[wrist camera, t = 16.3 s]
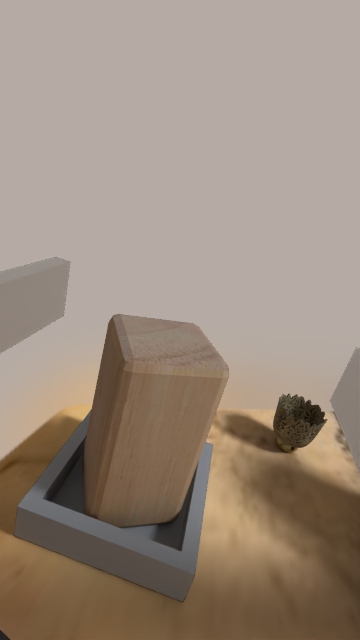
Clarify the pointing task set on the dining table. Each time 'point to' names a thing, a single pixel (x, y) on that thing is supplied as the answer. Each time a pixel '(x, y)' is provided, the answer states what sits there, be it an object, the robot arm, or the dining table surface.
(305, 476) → the dining table surface
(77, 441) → the gray square tray
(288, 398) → the cup
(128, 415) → the wooden block
